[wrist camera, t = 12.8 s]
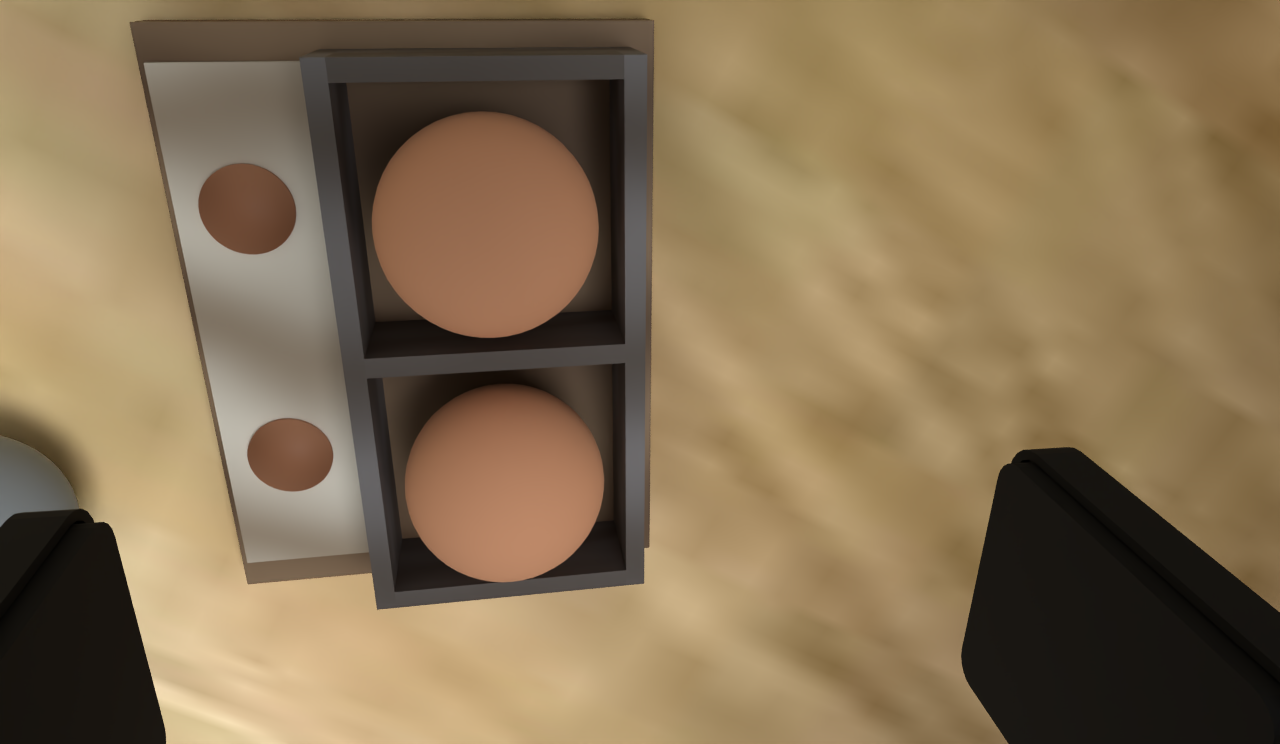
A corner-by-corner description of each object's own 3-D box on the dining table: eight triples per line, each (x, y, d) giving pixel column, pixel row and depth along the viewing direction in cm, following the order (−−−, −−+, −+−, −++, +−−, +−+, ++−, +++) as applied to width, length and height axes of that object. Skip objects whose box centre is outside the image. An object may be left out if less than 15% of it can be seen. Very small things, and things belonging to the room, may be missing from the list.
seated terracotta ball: (402, 359, 28) (384, 448, 23) (590, 348, 29) (616, 432, 24) (420, 519, 31) (408, 635, 25) (594, 505, 32) (617, 613, 26)
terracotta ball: (374, 98, 25) (340, 133, 20) (586, 96, 26) (609, 128, 21) (396, 299, 28) (372, 379, 22) (590, 291, 28) (611, 366, 23)
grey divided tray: (145, 20, 25) (83, 27, 21) (647, 18, 27) (674, 25, 23) (255, 563, 32) (225, 642, 28) (643, 529, 34) (664, 598, 30)
